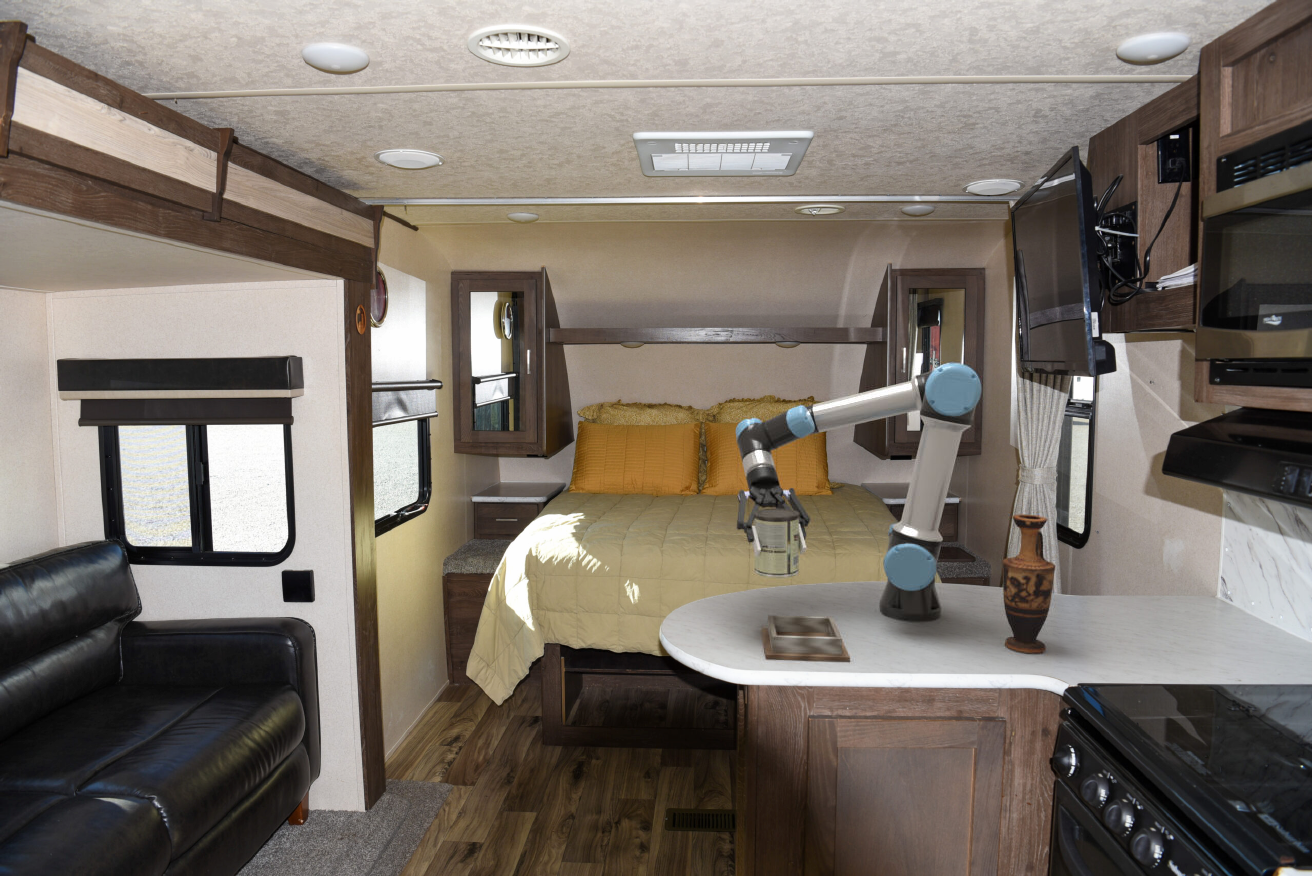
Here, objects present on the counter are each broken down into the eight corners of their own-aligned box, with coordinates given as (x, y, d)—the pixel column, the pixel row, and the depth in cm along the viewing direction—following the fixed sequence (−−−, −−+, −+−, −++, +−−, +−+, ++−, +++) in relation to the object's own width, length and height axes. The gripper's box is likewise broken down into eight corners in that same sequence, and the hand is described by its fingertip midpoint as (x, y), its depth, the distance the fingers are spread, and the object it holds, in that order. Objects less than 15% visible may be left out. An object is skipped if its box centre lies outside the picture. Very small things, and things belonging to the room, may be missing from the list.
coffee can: (754, 566, 194) (754, 507, 192) (797, 566, 193) (798, 508, 191) (754, 577, 184) (754, 516, 182) (800, 578, 182) (800, 517, 181)
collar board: (837, 633, 192) (838, 615, 192) (849, 661, 174) (850, 641, 174) (761, 631, 194) (761, 613, 193) (765, 659, 176) (766, 639, 175)
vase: (1032, 659, 176) (1038, 523, 173) (988, 645, 185) (993, 515, 182) (1061, 650, 182) (1067, 518, 179) (1017, 636, 191) (1023, 510, 188)
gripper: (801, 481, 203) (823, 558, 189) (713, 484, 200) (729, 563, 186) (808, 463, 198) (832, 540, 184) (718, 466, 194) (735, 545, 180)
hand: (780, 552), depth 185 cm, fingers closed on coffee can, 10 cm apart
